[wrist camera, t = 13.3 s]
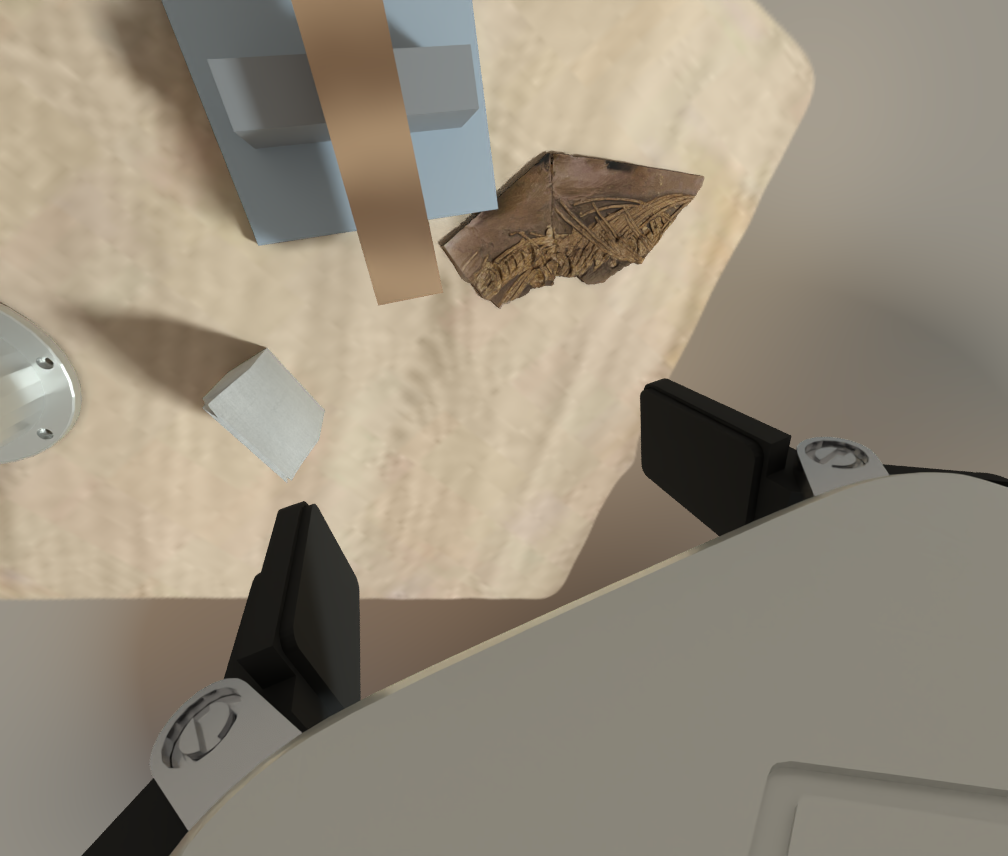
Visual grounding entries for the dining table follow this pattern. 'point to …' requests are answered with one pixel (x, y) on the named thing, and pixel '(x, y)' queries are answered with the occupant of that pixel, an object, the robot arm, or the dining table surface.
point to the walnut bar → (371, 142)
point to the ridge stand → (300, 120)
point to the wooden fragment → (568, 225)
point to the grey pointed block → (267, 412)
